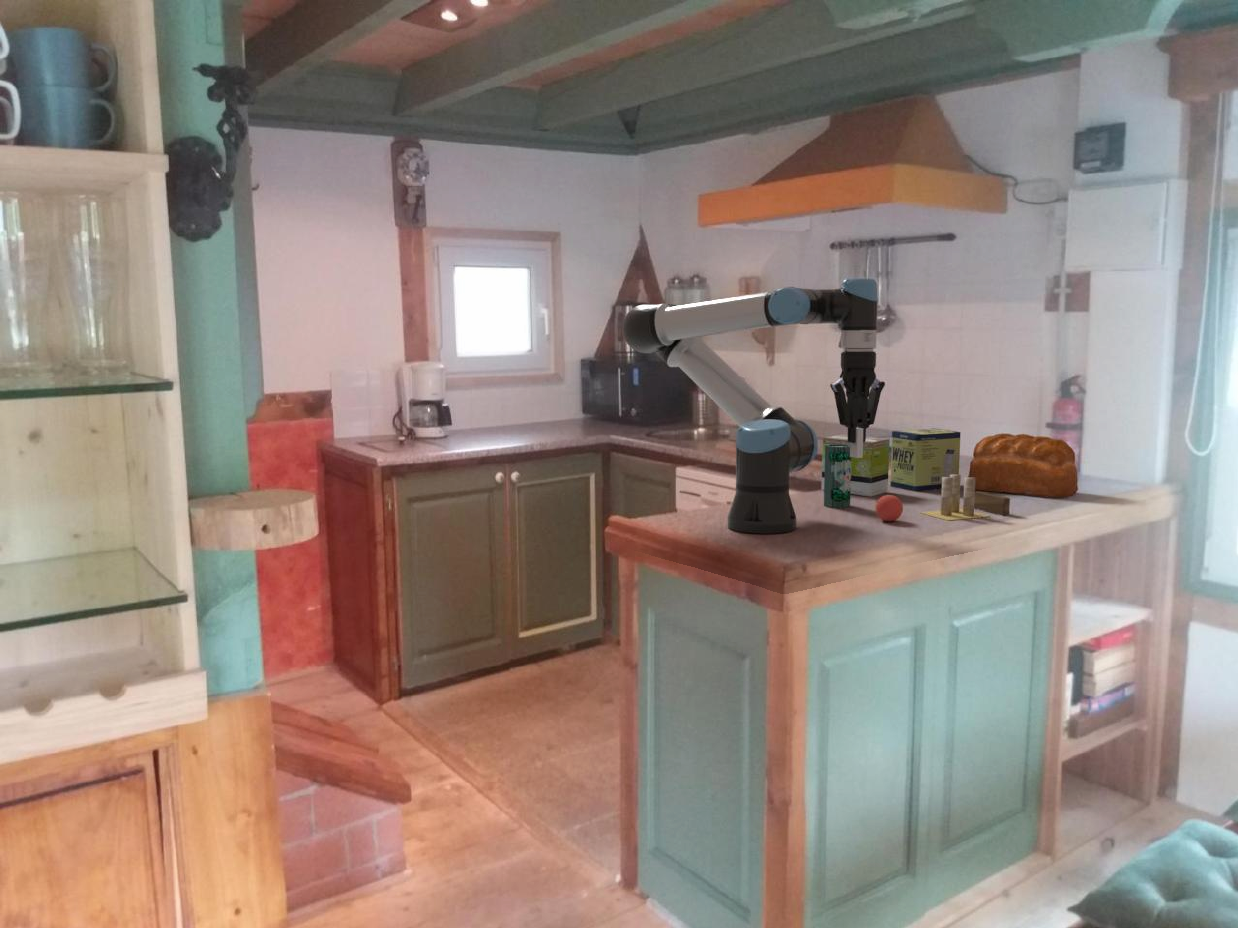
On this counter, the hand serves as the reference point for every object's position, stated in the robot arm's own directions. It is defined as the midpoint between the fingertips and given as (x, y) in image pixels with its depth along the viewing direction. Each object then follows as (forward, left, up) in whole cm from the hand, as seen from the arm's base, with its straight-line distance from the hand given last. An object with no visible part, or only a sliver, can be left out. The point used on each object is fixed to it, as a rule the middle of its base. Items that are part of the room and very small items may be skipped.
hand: (856, 457), depth 216 cm
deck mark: (+28, 0, -15) cm, 32 cm away
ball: (+9, 0, -12) cm, 15 cm away
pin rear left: (+30, +3, -15) cm, 33 cm away
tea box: (+25, +37, -16) cm, 48 cm away
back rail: (+38, 0, -15) cm, 41 cm away
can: (+9, +21, -16) cm, 28 cm away
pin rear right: (+30, -2, -15) cm, 33 cm away
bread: (+66, +20, -16) cm, 71 cm away
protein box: (+47, +36, -16) cm, 62 cm away
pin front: (+25, 0, -15) cm, 30 cm away
